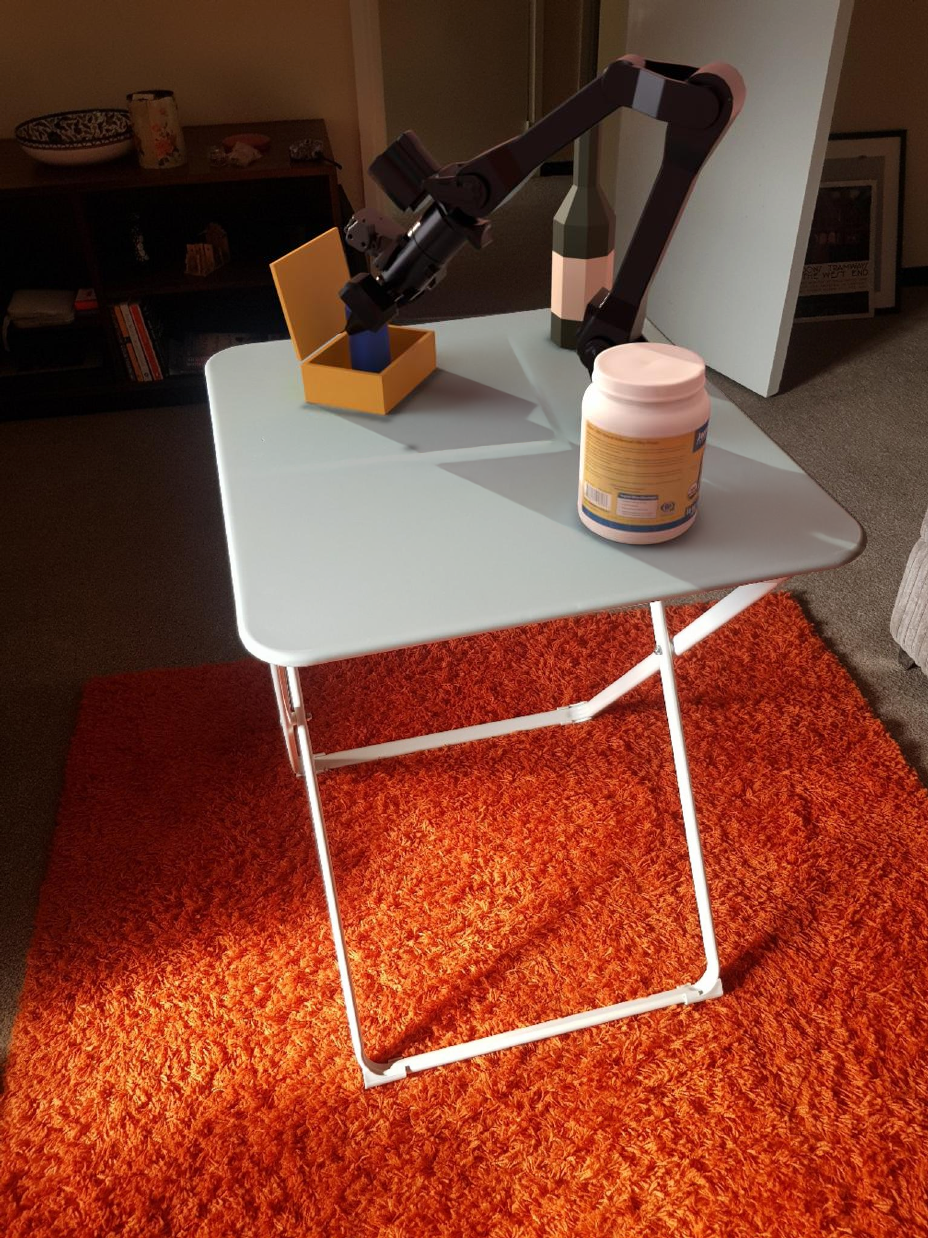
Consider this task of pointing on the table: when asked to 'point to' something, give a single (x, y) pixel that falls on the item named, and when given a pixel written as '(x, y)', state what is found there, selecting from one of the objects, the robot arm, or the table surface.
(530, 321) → the table surface
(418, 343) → the box
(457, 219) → the robot arm
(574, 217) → the wine bottle
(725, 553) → the table surface
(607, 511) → the supplement tub
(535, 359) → the table surface
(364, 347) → the bottle
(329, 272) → the lunchbox lid
